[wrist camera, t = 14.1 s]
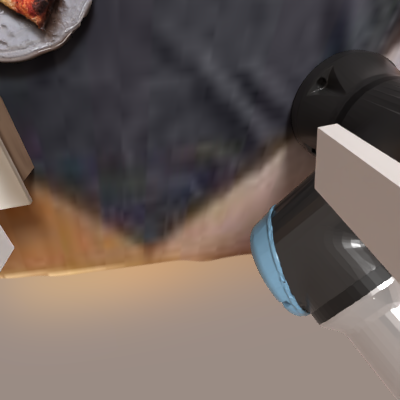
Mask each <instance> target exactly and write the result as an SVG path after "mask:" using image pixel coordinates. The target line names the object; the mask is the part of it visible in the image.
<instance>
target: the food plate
mask: <svg viewBox="0 0 400 400" xmlns="http://www.w3.org/2000/svg"><path fill="white" fill-rule="evenodd" d="M91 4H92V0H0V63H14V64H15V63H21V62H25V61H29V60H31V59H34V58H36V57H38V56H41V55H44V54H46V53H48V52H51V51H56V50H58V49H60V48H61V47H62V46H64V45H65V44H66V43H67V42H68V40H70V38H73V36H72V37H69V36H70V34H71V33H72V34H73V33H74V32H75V31H76V30H77V29H78V28H79V27H80V25H81V24H80V23H81V21H82V19H83V17H86V16H87V14H88V12H89V9H90V6H91Z"/></svg>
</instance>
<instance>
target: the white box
mask: <svg viewBox="0 0 400 400" xmlns="http://www.w3.org/2000/svg"><path fill="white" fill-rule="evenodd" d="M33 168H34V166H33V164H32V161H31V159H30V157H29V155H28V153H27V151H26V149H25V147H24V145H23V142H22V140H21V138H20V136H19V134H18V132H17V130H16V128H15V126H14V124H13V121H12V119H11V117H10V115H9V113H8V111H7V109H6V107H5V105H4V102H3V100H2V98H1V96H0V210H2V209H7V208H13V207H18V206H24V205H30V204H31V203H32V199H31V197H30V195H29V193H28V191H27V189H26V187H25V185H24V183H23V182H24V180H25V179H26V178H27V176H28V175H29V174H30V172H31V171H32V170H33Z"/></svg>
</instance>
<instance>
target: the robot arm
mask: <svg viewBox="0 0 400 400" xmlns="http://www.w3.org/2000/svg"><path fill="white" fill-rule="evenodd" d="M291 121H292V128H293V131H294V134H295V136H296V138H297V140H298V141H299V143H300V144H301V145H302V146H303V147H304V148H305V149H306V150H307V151H308V152H310V153H311V154H312V155H314V156H316V168H315V171H314V172H313V173H312V174H311V175H310V176H308V177H307V178H306V179H305V180H304V181H303V182H302V183H301V184H299V185H298V186H297V187H296V188H295V189H294V190H293V191H292V192H290V193H289V194H288V195H287V196H286V197H285V198H284V199H283V200H281V201H280V202H279V203H278V204H277V205H276V204H275V205H274V206H272V207H271V208H270V210H269V212H268V213H267V214H266V215H265V216H264V217H263V218H262V219H261V220H260V221H259V222H258V223H257V224H256V225H255V226H254V228H253V230H252V232H251V236H250V243H251V245H250V246H251V252H252V256H253V259H254V261H255V264H256V266H257V269H258V271H259V273H260V275H261V276H262V278H263V280H264V282H265V283H266V285H267V287H268V288H269V290H270V291H271V292H272V294H273V295H274V296H275V298H276V299H277V300H278V301H279V302H282V303H283V305H284V307H285V308H286V309H287V310H288V311H289V312H291V313H292V314H294V315H297V316H307V315H309V314H310V313H311V314H312V316H313V317H314V318H315V319H316V321H317V322H318V323H319V325H320V326H321V327H322V328H326V329H330V330H335V331H339V332H341V333H343V334H345V335H346V336H347V337H348V339H349V340H350V341H351V342H352V344H353V345H354V346H355V347H356V349H357V350H358V351H359V352H360V354H361V355H362V356H363V357H364V359H365V360H366V361H367V363H368V364H369V365H370V366H371V368H372V369H373V370H374V372H375V373H376V374H377V375H378V377H379V378H380V379H381V381H382V382H383V383H384V384H385V386H386V387H387V388H388V389H389V391H390V392H391V393H392V395H393V396H394V397H395V398H396V400H400V71H399V70H398V69H397V68H396V66H395V65H394V64H393V63H392V62H391V61H390V60H389V59H388V58H386V57H384V56H382V55H380V54H377V53H374V52H369V51H365V50H348V51H344V52H341V53H338V54H335V55H333V56H331V57H329V58H328V59H326V60H324V61H323V62H322V63H320V64H319V65H318V66H317V67H315V68H314V69H313V70H312V71H311V72H310V74H309V75H308V76H307V77H306V79H305V80H304V81H303V83H302V84H301V86H300V88H299V90H298V92H297V94H296V97H295V99H294V103H293V107H292V115H291ZM13 249H14V246H13V244H12V243H11V241H10V240H9V238H8V237H7V235H6V233H5V232H4V230H3V229H2V227H1V226H0V271H1V269H2V268H3V266H4V264H5V263H6V261H7V259H8V258H9V256H10V254H11V253H12V251H13Z"/></svg>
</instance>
